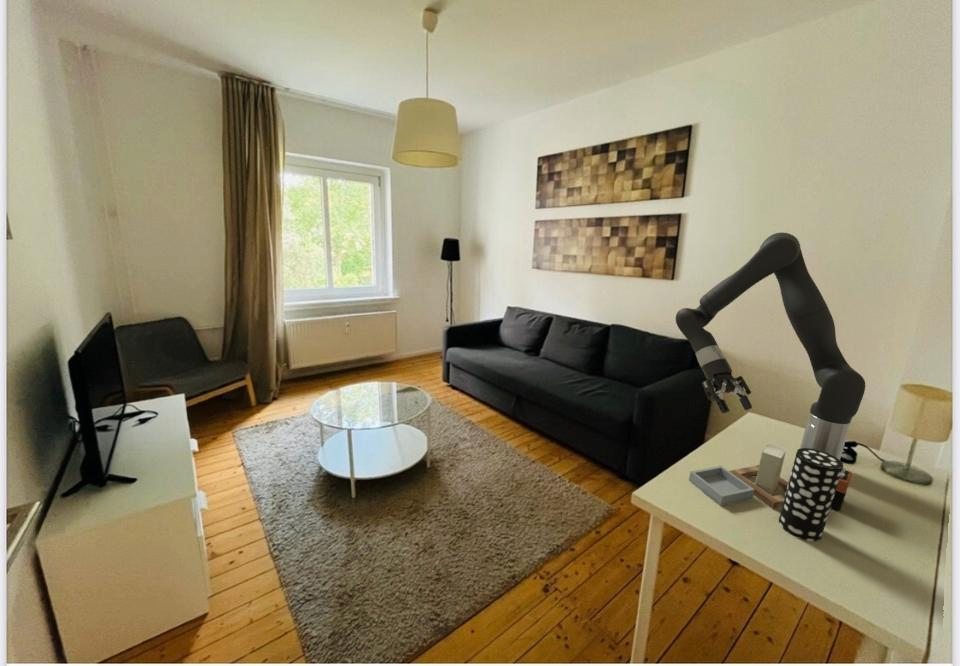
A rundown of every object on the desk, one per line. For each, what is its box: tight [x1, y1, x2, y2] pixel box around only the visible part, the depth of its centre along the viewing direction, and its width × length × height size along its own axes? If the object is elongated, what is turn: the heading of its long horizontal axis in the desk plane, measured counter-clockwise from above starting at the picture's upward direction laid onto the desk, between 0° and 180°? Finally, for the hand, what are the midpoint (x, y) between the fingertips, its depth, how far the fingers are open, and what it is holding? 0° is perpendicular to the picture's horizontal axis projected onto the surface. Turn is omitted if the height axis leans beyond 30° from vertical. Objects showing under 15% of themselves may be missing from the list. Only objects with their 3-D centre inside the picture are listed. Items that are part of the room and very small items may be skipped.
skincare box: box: [754, 444, 787, 496], centre depth 108 cm, size 6×4×12 cm
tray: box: [688, 465, 755, 507], centre depth 109 cm, size 11×11×3 cm
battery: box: [830, 467, 853, 512], centre depth 103 cm, size 4×7×10 cm, turn 132°
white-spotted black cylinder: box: [778, 447, 844, 542], centre depth 93 cm, size 8×8×20 cm
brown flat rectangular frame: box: [728, 464, 789, 510], centre depth 110 cm, size 12×14×2 cm
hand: (737, 410), depth 117 cm, fingers open, 8 cm apart
